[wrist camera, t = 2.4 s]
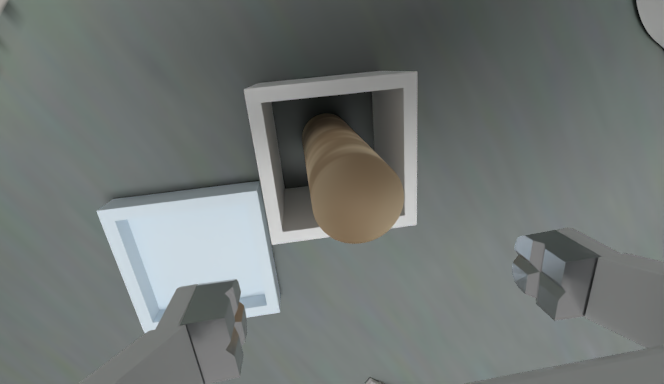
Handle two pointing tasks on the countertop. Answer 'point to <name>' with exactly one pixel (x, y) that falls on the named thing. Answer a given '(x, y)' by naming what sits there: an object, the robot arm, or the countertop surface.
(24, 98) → the countertop surface
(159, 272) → the tray
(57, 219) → the countertop surface
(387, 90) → the white open box
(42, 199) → the countertop surface
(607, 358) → the robot arm
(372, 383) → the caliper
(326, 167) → the dowel
